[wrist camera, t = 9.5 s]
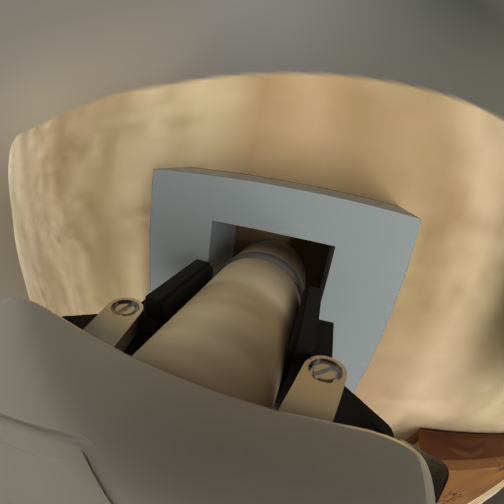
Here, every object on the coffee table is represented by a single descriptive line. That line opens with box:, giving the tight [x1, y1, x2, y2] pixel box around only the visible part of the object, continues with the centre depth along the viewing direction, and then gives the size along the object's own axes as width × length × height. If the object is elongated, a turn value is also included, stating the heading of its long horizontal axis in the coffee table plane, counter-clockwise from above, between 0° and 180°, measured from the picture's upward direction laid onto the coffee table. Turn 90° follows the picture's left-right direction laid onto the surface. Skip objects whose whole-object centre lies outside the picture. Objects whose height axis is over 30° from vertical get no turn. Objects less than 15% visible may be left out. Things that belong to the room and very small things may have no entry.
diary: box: [406, 429, 504, 504], centre depth 17 cm, size 23×19×6 cm
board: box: [150, 168, 421, 409], centre depth 17 cm, size 20×13×4 cm, turn 172°
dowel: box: [132, 240, 307, 409], centre depth 10 cm, size 4×4×12 cm
